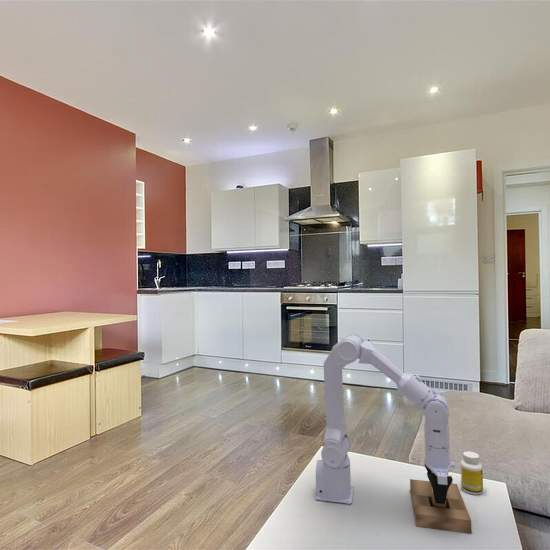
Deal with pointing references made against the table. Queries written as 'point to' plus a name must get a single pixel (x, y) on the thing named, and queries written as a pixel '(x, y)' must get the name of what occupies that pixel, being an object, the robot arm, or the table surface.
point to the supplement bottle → (471, 474)
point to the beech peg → (437, 503)
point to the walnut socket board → (435, 517)
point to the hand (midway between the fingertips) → (438, 498)
